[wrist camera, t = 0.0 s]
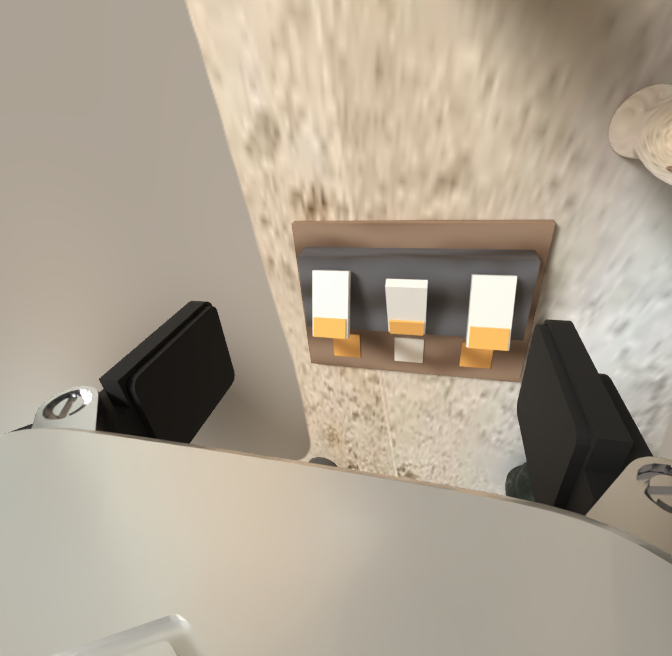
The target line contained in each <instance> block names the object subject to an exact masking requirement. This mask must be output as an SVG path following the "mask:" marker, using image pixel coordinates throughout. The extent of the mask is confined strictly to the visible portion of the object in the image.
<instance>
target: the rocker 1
mask: <svg viewBox="0 0 672 656" xmlns="http://www.w3.org/2000/svg"><path fill="white" fill-rule="evenodd" d="M350 287H351V271H340V270H312V317H313V337H326V338H339V339H347V338H348V337H349V336H350Z"/></svg>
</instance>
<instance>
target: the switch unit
mask: <svg viewBox="0 0 672 656" xmlns="http://www.w3.org/2000/svg"><path fill="white" fill-rule="evenodd" d="M555 224H556V223H555V222H554V220H400V221H294V222H293V223H292V230H293V237H294V244H295V251H296V258H297V266H298V273H299V280H300V287H301V294H302V301H303V308H304V315H305V323H306V330H307V337H308V344H309V351H310V358H311V363H316V364H327V365H338V366H349V367H360V368H371V369H382V370H393V371H404V372H415V373H426V374H437V375H447V376H458V377H469V378H480V379H491V380H502V381H513V382H519V380H520V376H521V372H522V367H523V363H524V359H525V354H526V350H527V346H528V341H529V337H530V333H531V328H532V324H533V319H534V315H535V311H536V306H537V302H538V298H539V293H540V289H541V285H542V280H543V276H544V272H545V267H546V263H547V259H548V254H549V250H550V245H551V241H552V237H553V232H554V228H555ZM312 270H340V271H351V287H350V336H349V337H348V338H347V339H339V338H326V337H313V317H312ZM472 274H482V275H515V276H517V283H516V292H515V301H514V310H513V319H512V328H511V337H510V345H509V350H507V351H503V350H489V349H476V348H468V347H466V334H467V323H468V311H469V300H470V288H471V277H472ZM386 279H412V280H428V287H427V309H426V329H425V334H423V336H420V335H405V334H390V332H389V330H388V317H387V304H386V292H385V284H386Z"/></svg>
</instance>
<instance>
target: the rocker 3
mask: <svg viewBox="0 0 672 656" xmlns="http://www.w3.org/2000/svg"><path fill="white" fill-rule="evenodd" d="M516 283H517V276H515V275H482V274H472V277H471V288H470V300H469V311H468V323H467V334H466V347H468V348H476V349H489V350H503V351H507V350H509V345H510V337H511V328H512V319H513V310H514V301H515V292H516Z"/></svg>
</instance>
